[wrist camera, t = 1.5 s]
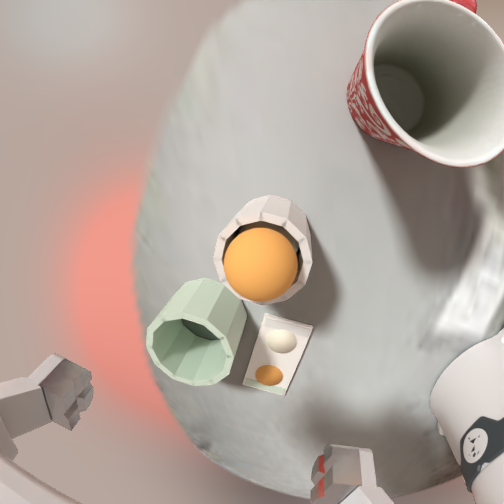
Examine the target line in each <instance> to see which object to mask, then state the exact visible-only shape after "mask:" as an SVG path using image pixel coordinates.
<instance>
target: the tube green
mask: <svg viewBox="0 0 504 504" xmlns="http://www.w3.org/2000/svg"><path fill="white" fill-rule="evenodd" d="M181 319H186V320H189V321H192V322H195V323H198V324H201V325H204V326H205V327H206V328H207V329H208V330H210V331H211V332H212V333H213V334H214V335H215V336H216V337H218V338H219V340H212V341H211V340H208V339H205V338H201V337H198V336H196V335H194V334H193V333H192V332H191V331H190V330H189V329H187V328H186V327H185V326H184V325H183V323H182V320H181ZM246 319H247V314H246V311H245V308H244V305H243V302H242V299H239V298H238V297H237V296H236V295H234V294H233V293H232V292H231V291H230V290H229V289H228V288H227V287H226V286H225V285H224V284H223V283H221V282H218V281H215V280H211V279H208V278H201V279H197V280H192V281H187V282H186V283H185V284H184V285H183V286H182V287H181V288H180V289H179V290H178V291H177V292H176V293H175V294H174V295H173V296H172V298H171V299H170V300H169V301H168V303H167V304H166V305H165V307H164V308H163V309H162V310H161V312H160V313H159V314H158V315H157V317H156V318H155V319H154V321H153V322H152V323H151V324H150V326H149V327H148V328H147V341H146V347H147V349H148V351H149V353H150V355H151V357H152V359H153V361H154V363H155V365H156V366H158V367H159V368H160V369H161V370H162V371H164V372H165V373H166V374H167V375H168V376H170V377H171V378H172V379H175V380H177V381H180V382H183V383H186V384H189V385H192V386H201V385H214V384H216V383H217V382H219V381H220V380H222V379H223V378H224V377H226V376H227V375H229V373H230V370H231V367H232V364H233V361H234V358H235V355H236V352H237V348H238V345H239V342H240V339H241V336H242V333H243V329H244V326H245V322H246Z"/></svg>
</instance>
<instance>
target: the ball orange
mask: <svg viewBox="0 0 504 504" xmlns="http://www.w3.org/2000/svg"><path fill="white" fill-rule="evenodd" d="M297 267H298V263H297V256H296V252H295V250H294V248H293V246H292V244H291V243H290V241H289V240H288V239H287V238H286V237H285V236H283V235H282V234H281V233H279V232H277V231H275V230H272V229H268V228H253V229H249V230H247V231H244V232H242V233H241V234H239V235H238V236H237V237H236V238H235V239H234V240H233V241H232V242H231V243H230V245H229V246H228V249H227V251H226V253H225V257H224V272H225V276H226V279H227V281H228V283H229V284H230V286H231V287H232V288H233V290H234V291H235V292H237V293H238V294H239V295H240V296H242V297H244V298H246V299H249V300H252V301H269V300H273V299H275V298H277V297H279V296H281V295H282V294H284V293H285V292H286V291H287V290H288V289H289V288H290V286H291V285H292V283H293V281H294V279H295V277H296V273H297Z"/></svg>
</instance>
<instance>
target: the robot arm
mask: <svg viewBox="0 0 504 504" xmlns="http://www.w3.org/2000/svg"><path fill="white" fill-rule="evenodd" d="M91 379H92V375H91V372H90V371H88V370H86V369H85V368H82V367H81V366H79V365H77V364H75V363H73V362H71V361H69V360H67V359H65V358H64V357H62V356H60V355H58V354H56V353H54V354H51V355H50V356H49V357H48V358H47V359H46V360H45V361H44V362H43V363H42V364H41V365H40V366H39V367H38V368H37V369H36V370H35V371H34V372H33V373H32V374H31V375H30V376H29V377H28V378H26V377H21V378H17V379H13V380H9V381H5V382H1V383H0V504H81V503H80V502H78V501H76V500H74V499H72V498H70V497H68V496H66V495H65V494H63V493H61V492H60V491H58V490H56V489H55V488H53V487H51V486H49V485H48V484H46V483H45V482H43V481H42V480H40V479H38V478H37V477H35V476H34V475H32V474H30V473H29V472H28V471H26V470H25V469H23V468H22V467H20V466H19V465H18V464H16V463H15V462H13V459H14V458H15V457H16V455H17V454H18V449H17V447H16V445H15V444H14V442H13V440H12V439H13V438H15V437H17V436H20V435H22V434H25V433H27V432H29V431H32V430H34V429H36V428H39V427H41V426H43V425H45V424H48V423H50V422H51V420H52V421H54V422H55V423H57V424H59V425H61V426H63V427H65V428H67V429H68V430H72V429H73V428H74V426H75V425H76V424H77V422H78V421H79V420H80V414H79V412H82V411H85V410H87V408H88V407H89V405H90V403H91V401H92V398H93V386H92V385H91V384H90V380H91ZM430 408H431V411H432V412H433V414H434V415H435V417H436V418H437V420H438V422H437V429H438V431H439V433H440V434H441V435H445V437H446V439H447V441H448V443H449V445H450V447H451V450H452V452H453V454H454V456H455V458H456V460H457V462H458V464H459V465H460V467H461V471H462V474H463V480H464V483H465V484H466V486H467V489H468V491H469V492H471V493H473V497H474V500H475V504H504V328H503V329H502V330H501V331H500V332H499V333H498V334H497V335H495V336H493V337H492V338H490V339H487V340H485V341H483V342H480V343H478V344H476V345H474V346H473V347H471V348H470V349H468V350H466V351H465V352H464V353H462V354H461V355H460V356H459V357H457V358H456V359H455V360H454V361H453V362H452V363H451V364H450V365H449V366H448V367H447V368H446V369H445V371H444V372H443V373H442V374H441V376H440V377H439V379H438V380H437V382H436V384H435V385H434V388H433V390H432V393H431V396H430ZM311 480H312V482H313V483H314V485H315V486H314V487H313V488H312V490H311V497H310V504H394V502H393V501H392V500H391V499H390V498H389V496H388V495H387V494H386V493H385V492H384V490H383V489H382V488H381V487H377V482H376V474H375V467H374V460H373V453H372V450H371V449H367V448H356V447H351V446H343V445H335V444H328V445H327V446H326V447H325V449H324V454H323V455H321V456H319V457H318V458H317V459H316V461H315V463H314V466H313V468H312V474H311Z"/></svg>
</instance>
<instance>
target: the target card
mask: <svg viewBox="0 0 504 504" xmlns="http://www.w3.org/2000/svg"><path fill="white" fill-rule="evenodd" d="M312 329H313V326H312V325H309V324H305V323H301V322H297V321H293V320H290V319H286V318H282V317H279V316H275V315H271V314H268V313H265V314H264V317H263V321H262V324H261V327H260V330H259V333H258V337H257V340H256V343H255V346H254V349H253V352H252V356H251V359H250V362H249V365H248V368H247V371H246V374H245V377H244V380H243V384H242V385H246V386H249V387H253V388H257V389H261V390H264V391H268V392H272V393H276V394H281V395H284V394H285V392H286V390H287V388H288V386H289V383H290V381H291V379H292V377H293V374H294V372H295V370H296V367H297V365H298V363H299V360H300V358H301V356H302V353H303V351H304V349H305V346H306V344H307V341H308V339H309V337H310V334H311V332H312Z"/></svg>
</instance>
